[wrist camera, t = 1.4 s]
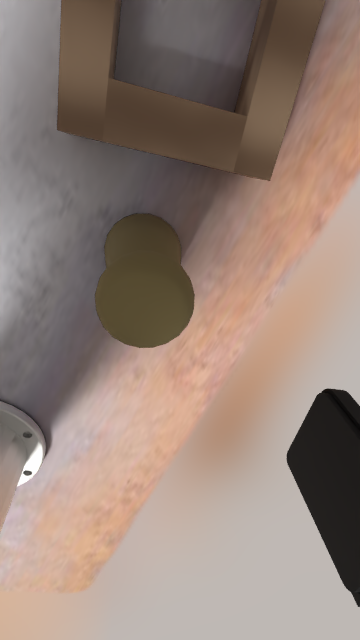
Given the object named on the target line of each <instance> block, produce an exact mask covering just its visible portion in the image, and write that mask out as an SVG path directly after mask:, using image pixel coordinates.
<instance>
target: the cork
mask: <svg viewBox="0 0 360 640" xmlns="http://www.w3.org/2000/svg"><path fill="white" fill-rule="evenodd" d="M104 250H105V262H106V270H105V271H104V272H103V274H102V275H101V277H100V279H99V282H98V286H97V289H96V293H95V302H96V311H97V314H98V316H99V318H100V321H101V323H102V325H103V327H104V328H105V329H106V330H107V331H108V332H109V333H110V334H111V335H112V337H114V338H115V339H117V340H119V341H121V342H123V343H124V344H127V345H130V346H135V347H139V348H151V347H156V346H159V345H163V344H166V343H168V342H169V341H171V340H172V339H174V338H176V337H177V336H179V335H180V333H181V332H182V331H183V330H184V329H185V328H186V326H187V325H188V323H189V321H190V318H191V316H192V314H193V310H194V296H195V294H194V291H193V287H192V284H191V280H190V278H189V276H188V275H187V274H186V272H185V271H184V269H183V268H182V266H181V265H180V264H181V246H180V242H179V239H178V236H177V234H176V233H175V231H174V230H173V228H172V227H171V225H169V224H168V223H167V222H165V221H164V220H163V219H162V218H160V217H157V216H154V215H151V214H137V213H136V214H133V215H130V216H127V217H124V218H123V219H121V220H120V221H119V222H117V223H116V224H115V225H114V226H113V227H112V229H111V230H110V232H109V233H108V235H107V238H106V242H105V246H104Z"/></svg>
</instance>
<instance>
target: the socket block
mask: <svg viewBox="0 0 360 640" xmlns="http://www.w3.org/2000/svg"><path fill="white" fill-rule="evenodd" d="M121 2H122V0H61V28H60V57H59V86H58V115H57V130H59V131H62V132H65V133H68V134H72V135H76V136H80V137H85V138H89V139H93V140H97V141H101V142H106V143H110V144H114V145H118V146H122V147H127V148H131V149H135V150H139V151H143V152H148V153H152V154H156V155H160V156H164V157H169V158H173V159H177V160H181V161H185V162H189V163H194V164H198V165H202V166H206V167H210V168H215V169H219V170H223V171H227V172H231V173H236V174H240V175H244V176H248V177H252V178H258V179H263V180H268V181H270V179H271V176H272V173H273V169H274V166H275V163H276V160H277V156H278V153H279V150H280V147H281V143H282V140H283V137H284V134H285V130H286V127H287V124H288V121H289V117H290V114H291V111H292V108H293V104H294V101H295V98H296V95H297V91H298V88H299V85H300V82H301V78H302V75H303V72H304V69H305V65H306V62H307V59H308V56H309V52H310V49H311V46H312V43H313V39H314V36H315V33H316V30H317V26H318V23H319V20H320V17H321V13H322V10H323V7H324V4H325V0H261V4H260V8H259V12H258V16H257V21H256V25H255V29H254V33H253V37H252V41H251V45H250V50H249V54H248V58H247V62H246V66H245V70H244V74H243V79H242V83H241V87H240V91H239V95H238V99H237V103H236V108H235V112H234V113H233V112H230V111H226V110H222V109H219V108H215V107H212V106H208V105H205V104H201V103H197V102H194V101H190V100H187V99H183V98H179V97H176V96H172V95H169V94H165V93H161V92H158V91H154V90H151V89H147V88H143V87H140V86H136V85H133V84H129V83H126V82H122V81H118V80H115V79H114V74H115V64H116V53H117V43H118V33H119V22H120V12H121Z"/></svg>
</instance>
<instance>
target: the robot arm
mask: <svg viewBox="0 0 360 640" xmlns="http://www.w3.org/2000/svg"><path fill="white" fill-rule="evenodd" d="M45 452H46V443H45V439H44V435H43V433H42V431H41V430H40V428H39V426H38V425H37V424H36V423H35V422H34V421H33V419H31V418H30V417H29V416H28V415H26V414H25V413H24V412H22V411H21V410H19V409H17V408H15V407H14V406H12V405H9V404H7V403H4V402H2V401H0V532H1V529H2V526H3V524H4V521H5V518H6V515H7V513H8V510H9V507H10V504H11V502H12V499H13V496H14V494H15V491H16V488H17V486H19V485H21V484H23V483H25V482H27V481H28V480H29V479H31V478H32V477H33V476H34V475H35V474H36V473H37V472H38V470H39V469H40V467H41V465H42V463H43V459H44V456H45ZM287 463H288V465H289V468H290V470H291V472H292V474H293V476H294V479H295V481H296V483H297V485H298V487H299V489H300V492H301V494H302V496H303V498H304V500H305V502H306V504H307V507H308V509H309V511H310V513H311V515H312V517H313V519H314V522H315V524H316V526H317V528H318V530H319V532H320V534H321V537H322V539H323V541H324V543H325V545H326V548H327V549H328V552H329V554H330V556H331V558H332V560H333V563H334V565H335V567H336V569H337V571H338V573H339V575H340V578H341V580H342V582H343V584H344V586H345V587H346V588H347V589H348V590H349V591H350V592H351V593H352V595H353V597H354V599H355V601H356V603H357V605H358V607H360V406H359V405H358V404H357V402H356V401H355V400H354V399H353V398H352V397H351V395H350V394H349V393H348V392H347V391H344V390H336V389H325V390H323V391H322V393H319V394H318V395H317V396H316V398H315V400H314V402H313V404H312V406H311V408H310V410H309V412H308V414H307V416H306V417H305V420H304V421H303V423H302V425H301V427H300V429H299V431H298V433H297V435H296V437H295V439H294V441H293V442H292V444H291V446H290V448H289V450H288V453H287Z"/></svg>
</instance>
